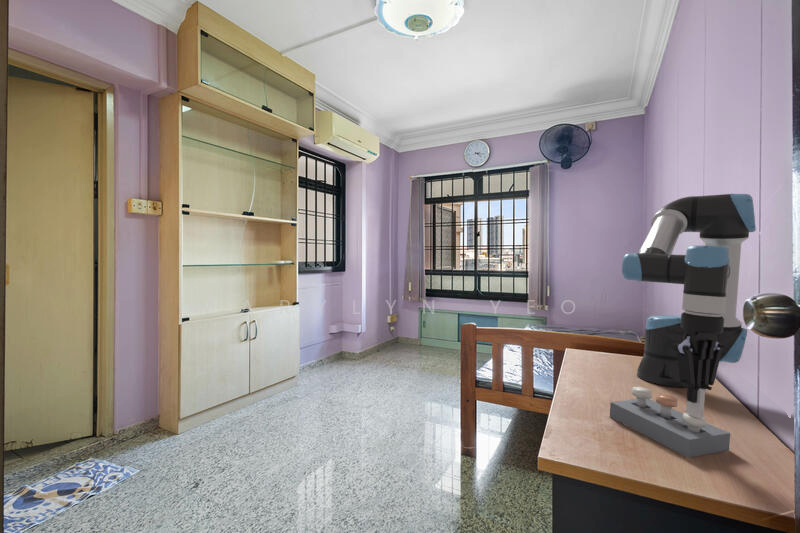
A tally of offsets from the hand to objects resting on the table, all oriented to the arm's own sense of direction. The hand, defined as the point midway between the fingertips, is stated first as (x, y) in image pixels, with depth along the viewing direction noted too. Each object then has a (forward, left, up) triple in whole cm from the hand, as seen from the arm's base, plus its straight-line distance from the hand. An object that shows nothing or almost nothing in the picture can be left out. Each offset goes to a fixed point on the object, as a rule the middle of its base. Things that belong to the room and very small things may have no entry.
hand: (694, 415), depth 83 cm
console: (0, -7, -7) cm, 10 cm away
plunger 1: (0, -13, -4) cm, 14 cm away
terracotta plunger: (0, -7, -4) cm, 7 cm away
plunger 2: (0, 0, -6) cm, 6 cm away
